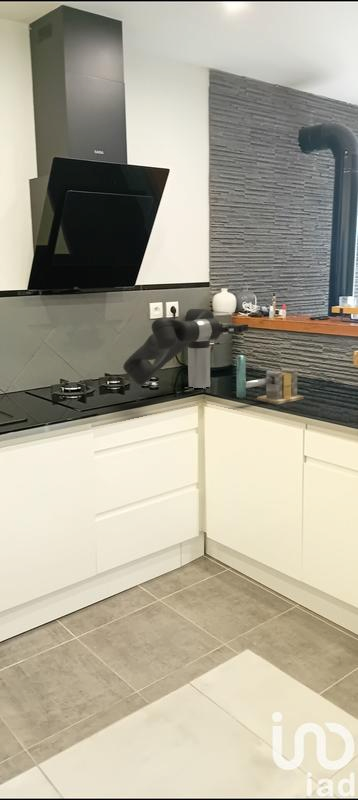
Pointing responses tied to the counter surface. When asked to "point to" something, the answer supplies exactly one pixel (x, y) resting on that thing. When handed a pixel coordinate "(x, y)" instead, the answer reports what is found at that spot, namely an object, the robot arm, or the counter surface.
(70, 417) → the counter surface
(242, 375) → the shaft
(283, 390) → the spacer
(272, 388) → the frame
